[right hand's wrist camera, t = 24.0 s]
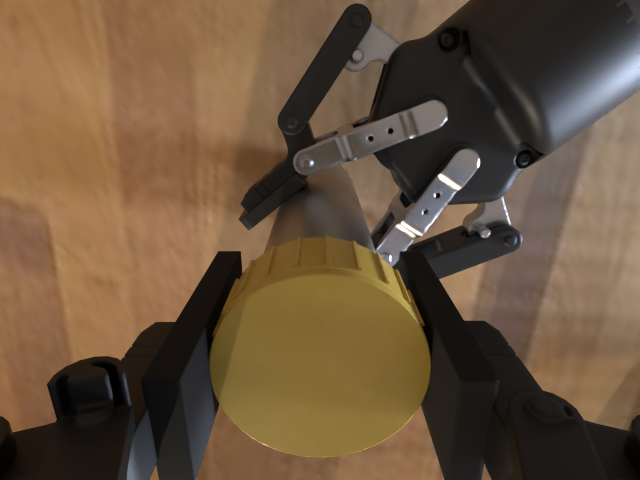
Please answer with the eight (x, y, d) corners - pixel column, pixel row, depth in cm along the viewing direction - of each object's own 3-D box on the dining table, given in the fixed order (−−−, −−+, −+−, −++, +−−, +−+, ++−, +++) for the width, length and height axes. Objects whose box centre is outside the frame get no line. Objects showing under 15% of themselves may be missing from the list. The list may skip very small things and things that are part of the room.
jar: (328, 237, 28) (339, 436, 12) (272, 201, 27) (206, 366, 11) (367, 184, 27) (437, 329, 11) (310, 144, 26) (296, 240, 10)
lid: (412, 391, 13) (431, 455, 11) (239, 400, 13) (223, 465, 11) (415, 227, 11) (439, 264, 9) (212, 240, 11) (186, 279, 9)
